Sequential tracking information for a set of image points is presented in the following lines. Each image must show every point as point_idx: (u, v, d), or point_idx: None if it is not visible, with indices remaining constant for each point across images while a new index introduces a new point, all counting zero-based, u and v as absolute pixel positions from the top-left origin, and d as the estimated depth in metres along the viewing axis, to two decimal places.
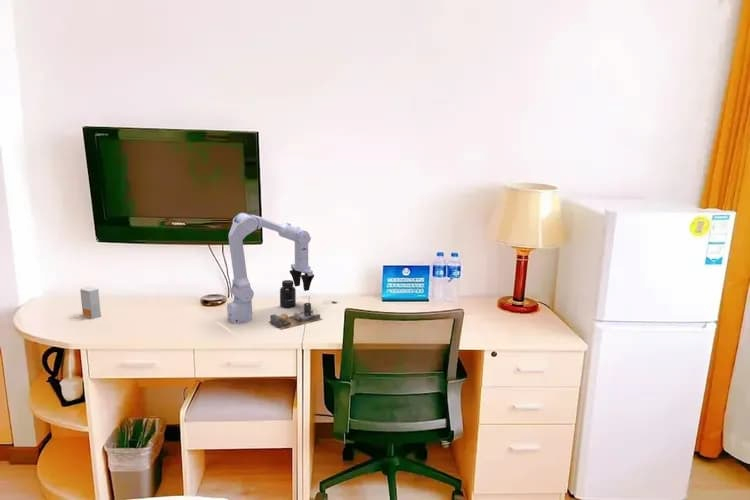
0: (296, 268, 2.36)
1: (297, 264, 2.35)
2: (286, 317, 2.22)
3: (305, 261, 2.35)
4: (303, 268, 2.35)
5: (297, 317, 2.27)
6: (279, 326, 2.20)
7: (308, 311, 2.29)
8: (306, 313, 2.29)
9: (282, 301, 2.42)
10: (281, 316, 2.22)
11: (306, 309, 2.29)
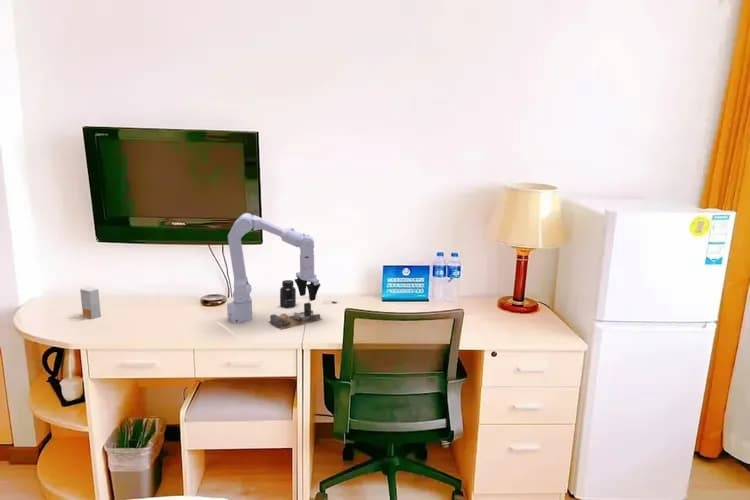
0: (301, 277, 2.25)
1: (302, 273, 2.24)
2: (286, 317, 2.22)
3: (311, 270, 2.24)
4: (309, 277, 2.24)
5: (297, 317, 2.27)
6: (279, 326, 2.20)
7: (308, 311, 2.29)
8: (306, 313, 2.29)
9: (282, 301, 2.42)
10: (281, 316, 2.22)
11: (306, 309, 2.29)
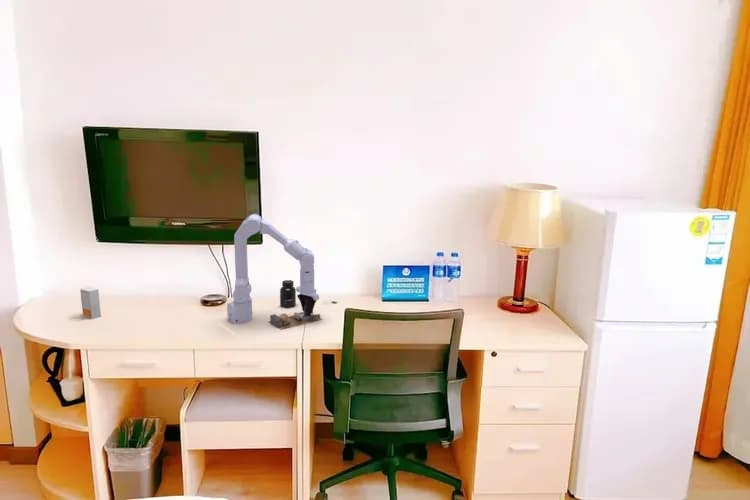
0: (301, 292, 2.26)
1: (303, 287, 2.25)
2: (286, 317, 2.22)
3: (311, 284, 2.25)
4: (309, 292, 2.25)
5: (297, 317, 2.27)
6: (279, 326, 2.20)
7: None
8: (306, 313, 2.29)
9: (282, 301, 2.42)
10: (281, 316, 2.22)
11: None
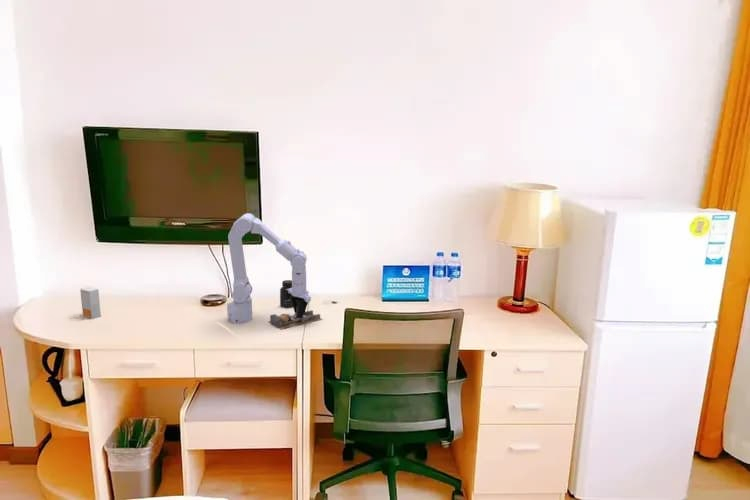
0: (293, 293, 2.24)
1: (294, 289, 2.23)
2: (286, 317, 2.22)
3: (303, 286, 2.23)
4: (301, 293, 2.23)
5: (289, 319, 2.25)
6: (279, 326, 2.20)
7: None
8: (298, 315, 2.27)
9: (282, 301, 2.42)
10: (281, 316, 2.22)
11: None
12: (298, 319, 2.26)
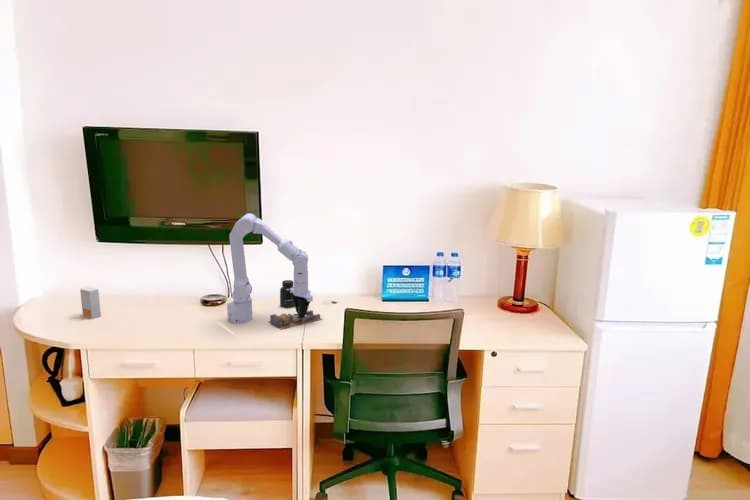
0: (295, 293, 2.24)
1: (296, 289, 2.24)
2: (286, 317, 2.22)
3: (305, 286, 2.24)
4: (302, 293, 2.24)
5: (291, 318, 2.25)
6: (279, 326, 2.20)
7: None
8: (300, 314, 2.27)
9: (282, 301, 2.42)
10: (281, 316, 2.22)
11: None
12: (300, 319, 2.26)
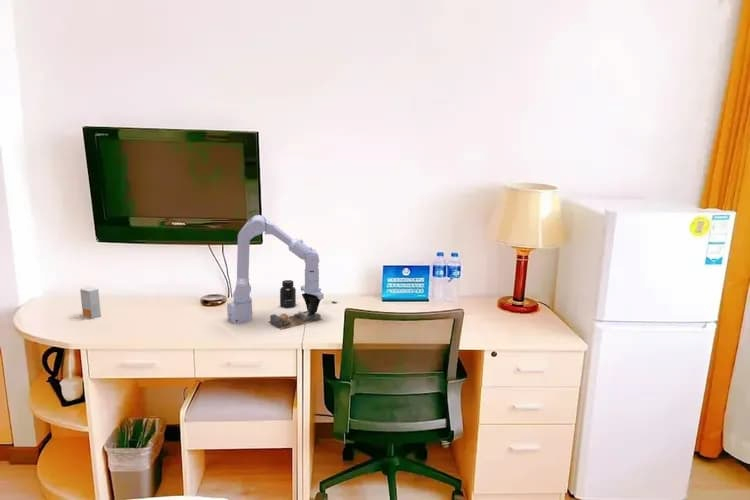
0: (306, 291, 2.27)
1: (307, 287, 2.27)
2: (286, 317, 2.22)
3: (315, 283, 2.27)
4: (313, 291, 2.27)
5: (301, 316, 2.28)
6: (279, 326, 2.20)
7: None
8: (310, 312, 2.30)
9: (282, 301, 2.42)
10: (281, 316, 2.22)
11: (310, 308, 2.30)
12: None
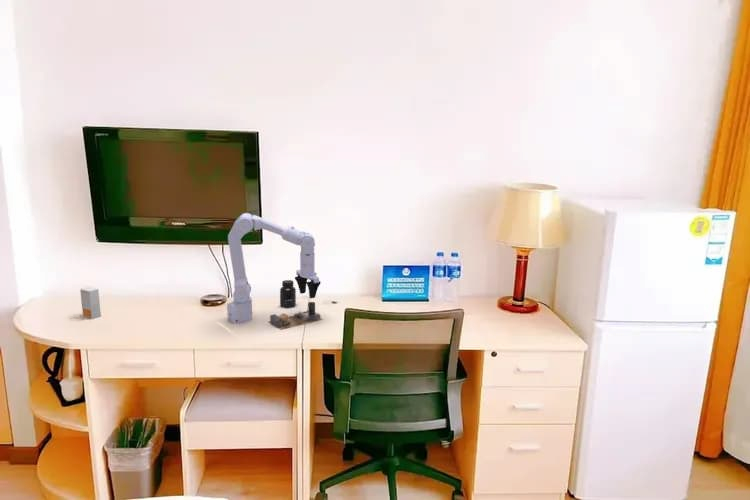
0: (302, 274, 2.26)
1: (303, 270, 2.25)
2: (286, 317, 2.22)
3: (311, 267, 2.25)
4: (309, 275, 2.25)
5: (301, 316, 2.28)
6: (279, 326, 2.20)
7: (312, 310, 2.30)
8: (310, 312, 2.30)
9: (282, 301, 2.42)
10: (281, 316, 2.22)
11: (310, 308, 2.30)
12: None
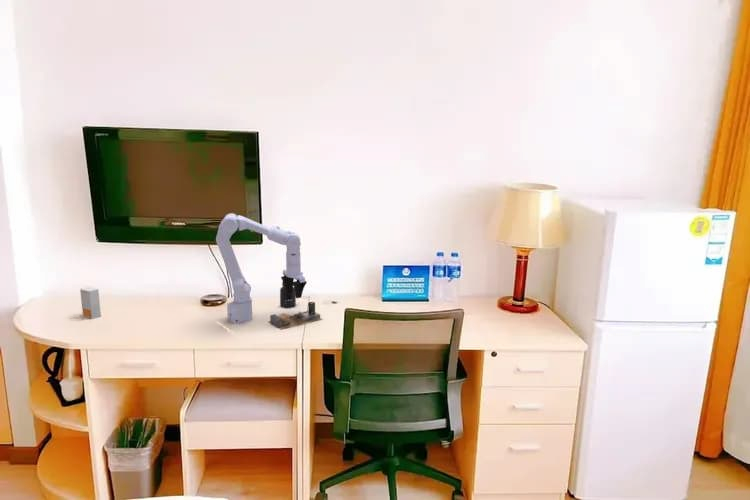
0: (288, 274, 2.25)
1: (289, 270, 2.24)
2: (286, 317, 2.22)
3: (297, 267, 2.24)
4: (295, 274, 2.25)
5: (301, 316, 2.28)
6: (279, 326, 2.20)
7: (312, 310, 2.30)
8: (310, 312, 2.30)
9: (282, 301, 2.42)
10: (281, 316, 2.22)
11: (310, 308, 2.30)
12: None
